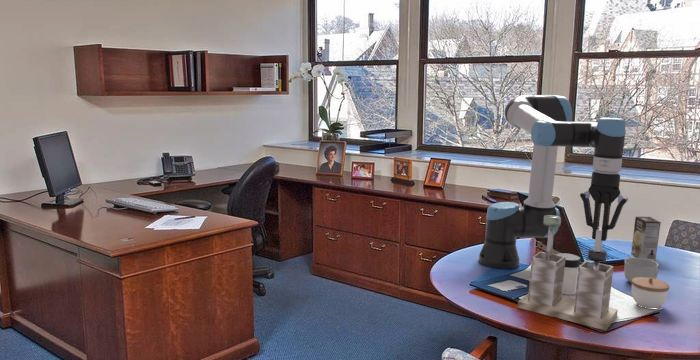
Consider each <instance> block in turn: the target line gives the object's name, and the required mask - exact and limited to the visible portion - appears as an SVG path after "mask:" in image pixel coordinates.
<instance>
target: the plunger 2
mask: <svg viewBox="0 0 700 360" xmlns="http://www.w3.org/2000/svg"><path fill="white" fill-rule="evenodd" d="M607 255H608V251H606V250H604V249H602V250H601V251H600V252H596V251H594V248H589V249H588V252H587V258H588V260H590V261H591V262H594V263H593V270H597V271H599V263H600V262H601V263H604V262H606V261H607Z"/></svg>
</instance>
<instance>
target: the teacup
mask: <svg viewBox="0 0 700 360" xmlns="http://www.w3.org/2000/svg"><path fill="white" fill-rule="evenodd" d="M659 266H660V265H659V263H658V262H657V260H655V261H654V260H650V259H646V258H637V257H636V256H634V255H633V256H632V255H631V256H629V257H627V258H626V259H624V270H623V271H624V278H625V279H626V280H627V281H628V282H630V283H631V284H632V279H633V278H636V277H647V278H649V277H652V278H654V279H658V272H659Z"/></svg>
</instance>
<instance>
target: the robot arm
mask: <svg viewBox="0 0 700 360" xmlns="http://www.w3.org/2000/svg"><path fill="white" fill-rule="evenodd" d="M572 109H573V108H572V105H571V103H570V101H569V99H568V98H567V97H565V96H562V95H555V94H521V95H519V96H516V97H514V98H512V99H511V100H509V102H508V103H507V104H506V106H505V109H504V117H505V120H506V122H507V123H508V124H509V125H510V126H512V127H515V128H520V129H522V130H524V131H525V132H527V133H528V134H530V137H531V142H532V143H533V150H532V159H531V167H530V176H529V177H530V178H529V179H530V180H529V186H528V187H529V188H528V197H527V198H526V199H525V200H523V205H522V206H520V205H519V204H518V202H514V201H499V202H495V203H492V204H490V205H489V206H488V207H487V210H486V211H487V212H486V215H485V220H486V221H485V235H484V243H483V245H482V248H481V250H480V252H479V255H478V262H479V263H480V264H482V265H484V266H486V267H489V268H495V269H502V270H503V269H505V270H507V269H514V268H515V269H516V268H517V267H519V265H520V256H519V253H518V249H517V238H539V239H544V238H548V230H549V226H546V225H544V224H543V221H544V216H545V215H554V216H559V217H561V213H560V210H559V209H558V208H557V207H556V203H555V202H554V201H553V194H554V184H555V183H554V182H555V176H556V175H555V174H556V167H557V156H558V149H559V147H566V148H567V147H573V148H593V149H594V151H593V161H592V170H593V171H592V173H591V180H590V187H588V190H586V191H584V192H581V193H580V194H579V196H580V198H581V200H582V203H583V208H584V215H585V216H584V217H585V223H586V226H588V227H590V228H591V229H592V235H591V239H592V240H594V248H593V249H594V251H596V252H600V251H601V250H603V242H605V241H607V238H608V231H609V230H614V229H615V227H616V226H617V222H618V220H619V218H620V215H621V213H622V210H623V207H624V206H625V204H626V203H627V202H629V198H628V197H625V196H624V195H622V194H621V190H620V183H621V174H620V173H621V172H622V165H623V164H622V163H623V153H624V148H625V147H624V146H625V138H626V134H627V132H626V120H625V119H623V118H618V117H600V118H599V119H598V120H597V121H573V110H572ZM590 197H591V198H592V199H593V202H594V211H593V214H592V208H591V203H590ZM616 199H617V203H618V204H617V206H616V208H615V210H614V213H613V215H612V218H611V220H610V216H611V215H610V214H611V206H612V203H613V202H614V201H616ZM602 204H603V214H602V223H601V224H602V226H601V227H600V218H601V212H602V211H601V209H602ZM559 228H560V226H559V227H554V235H556V234H557V232H558V230H559Z"/></svg>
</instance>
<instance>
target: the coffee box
mask: <svg viewBox="0 0 700 360" xmlns="http://www.w3.org/2000/svg"><path fill="white" fill-rule="evenodd" d="M661 223H662V222H661V221H659V220H657V219H655V218H653V217H652V216H635V219H634V228H633V234H632V235H633V237H632V244H631V254H632V255H633V257H635V258H646V259H650V260H653V261H657V252H658V244H659V238H660V230H661V225H662V224H661Z"/></svg>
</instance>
